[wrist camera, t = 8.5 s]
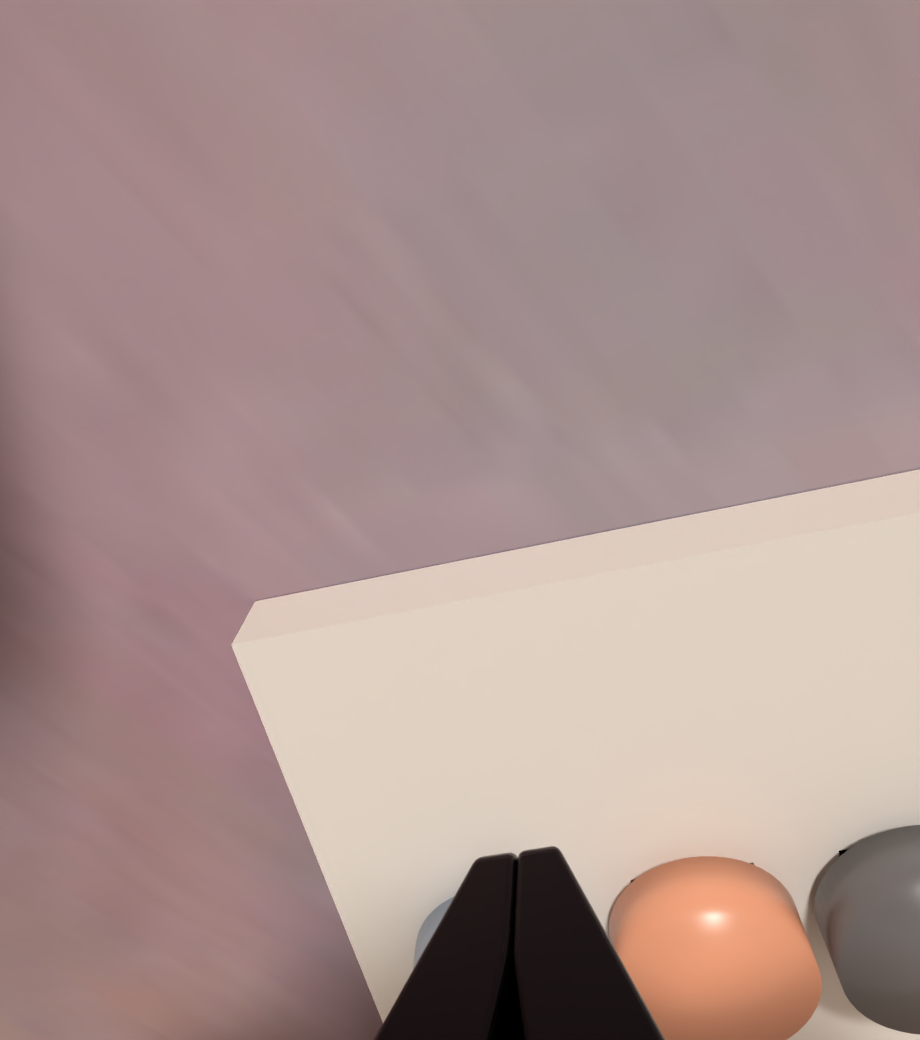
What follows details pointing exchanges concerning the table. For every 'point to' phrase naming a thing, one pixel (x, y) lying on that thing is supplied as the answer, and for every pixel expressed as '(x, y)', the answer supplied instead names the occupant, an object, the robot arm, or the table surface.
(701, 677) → the panel
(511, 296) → the table surface
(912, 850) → the charcoal button
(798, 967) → the terracotta button
